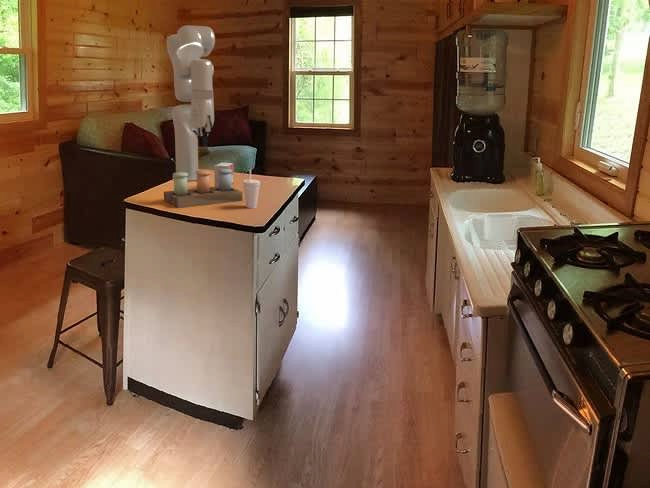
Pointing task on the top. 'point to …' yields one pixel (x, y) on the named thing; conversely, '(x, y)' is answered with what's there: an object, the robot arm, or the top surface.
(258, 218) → the top surface
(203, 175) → the pink lidded jar
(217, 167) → the grey arched frame
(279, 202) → the top surface
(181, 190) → the sage button
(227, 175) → the blue-grey jar
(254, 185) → the smoothie
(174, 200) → the button board
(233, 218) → the top surface
